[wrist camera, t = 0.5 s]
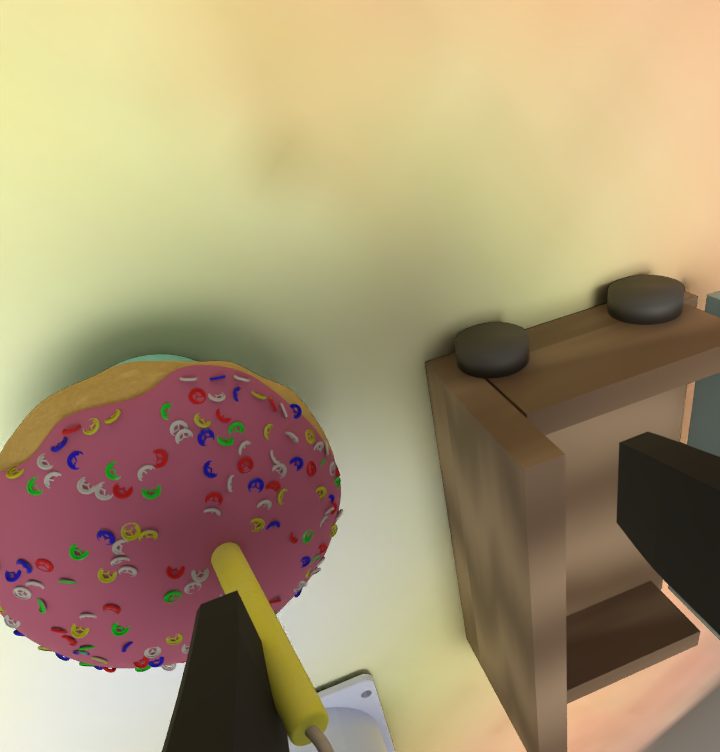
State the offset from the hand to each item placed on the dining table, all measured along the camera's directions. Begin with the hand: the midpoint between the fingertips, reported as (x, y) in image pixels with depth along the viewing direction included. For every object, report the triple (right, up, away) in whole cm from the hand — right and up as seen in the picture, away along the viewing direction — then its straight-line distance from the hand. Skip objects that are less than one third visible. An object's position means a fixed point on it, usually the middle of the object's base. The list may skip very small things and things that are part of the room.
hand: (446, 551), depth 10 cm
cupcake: (-8, +2, +8) cm, 11 cm away
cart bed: (+7, -2, +15) cm, 16 cm away
